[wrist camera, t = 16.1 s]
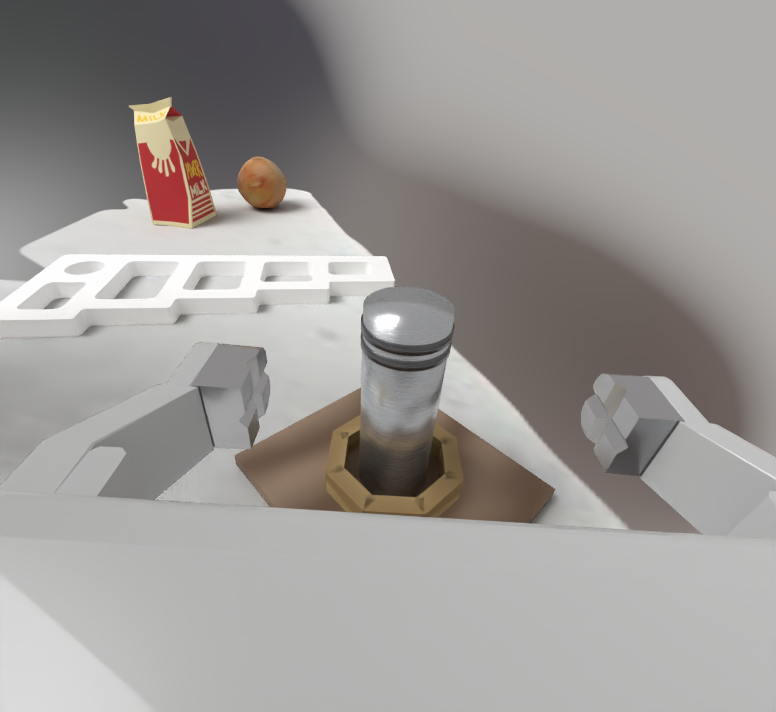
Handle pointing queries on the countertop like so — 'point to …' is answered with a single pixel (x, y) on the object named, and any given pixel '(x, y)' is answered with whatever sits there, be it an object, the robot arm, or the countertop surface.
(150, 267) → the holder
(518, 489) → the ring stand
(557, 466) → the countertop surface
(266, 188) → the onion
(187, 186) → the milk carton
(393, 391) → the piston
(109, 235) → the countertop surface
